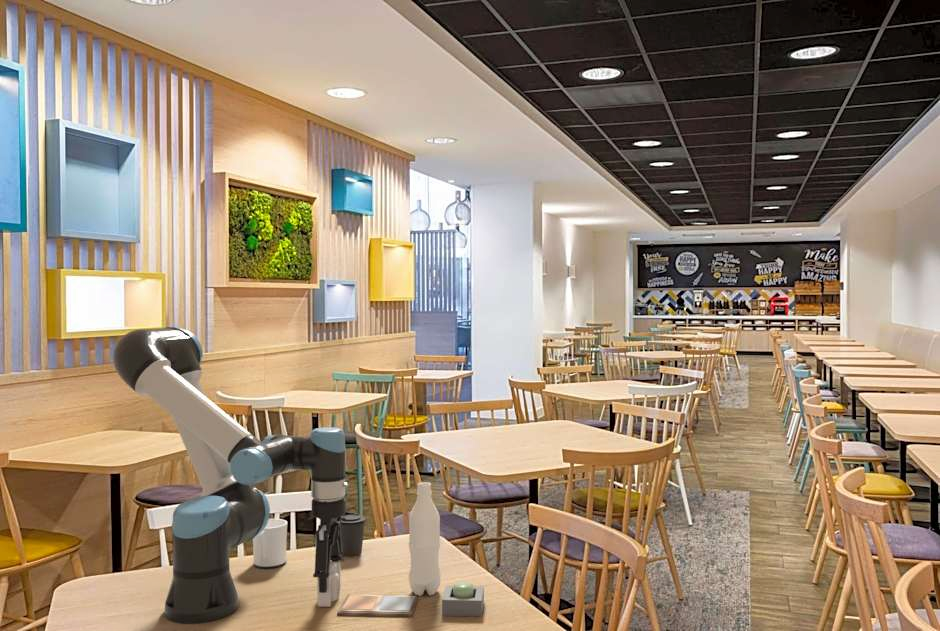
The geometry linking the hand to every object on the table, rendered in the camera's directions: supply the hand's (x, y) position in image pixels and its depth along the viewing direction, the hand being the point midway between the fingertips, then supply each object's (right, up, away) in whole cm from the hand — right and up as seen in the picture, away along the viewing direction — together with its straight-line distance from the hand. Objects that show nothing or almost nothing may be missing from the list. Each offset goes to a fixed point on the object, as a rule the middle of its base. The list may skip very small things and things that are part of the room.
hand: (329, 597), depth 184 cm
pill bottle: (0, -1, 0) cm, 1 cm away
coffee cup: (0, 0, +32) cm, 32 cm away
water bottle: (+21, 0, +4) cm, 22 cm away
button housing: (+30, 0, -6) cm, 31 cm away
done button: (+30, +2, -6) cm, 31 cm away
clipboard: (+12, 0, -5) cm, 13 cm away
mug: (-19, 0, +23) cm, 30 cm away
